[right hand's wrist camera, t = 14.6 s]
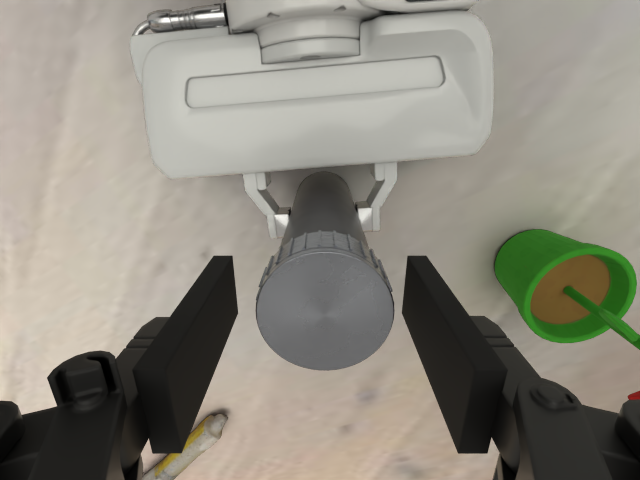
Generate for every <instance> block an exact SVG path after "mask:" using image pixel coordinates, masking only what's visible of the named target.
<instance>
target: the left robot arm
mask: <svg viewBox="0 0 640 480" xmlns="http://www.w3.org/2000/svg"><path fill="white" fill-rule="evenodd" d="M477 1H478V0H225V3H223V4H214V5H205V6H197V7H192V8H189V9H184V10H177V11H172V10H169V9H164V10H157V11H153V12H151V13H149V14H148V15H147V20H146V21H144V22H142V23H141V24H140V25H138V26H137V28H136V29H135V31H134V33H133V35H132V37H131V38H130V53H131V58H132V62H133V66H134V70H135V74H136V77H137V80H138V82H139V83H140V85H141V87H142V95H143V107H144V117H145V125H146V132H147V138H148V144H149V149H150V154H151V159H152V162H153V164H154V165H155V167H156V168H157V169H159V170H160V171H161V172H162V173H163V174H164V175H165V176H166V177H167V178H169V179H186V178H199V177H211V176H224V175H236V174H243V180H244V186H245V192H246V193H247V194H248V196H249V197H250V198H251V199H252V201H253V202H254V203H255V204H256V205H257V207H258V208H259V209H260V210H261V212H262V213H263V214H264V215H266V216H267V223H268V230H269V236H270V239H278V238H283V236H284V233H285V230H286V226H287V223H288V220H289V217H290V214H291V207H280V208H279V206H278V205H277V203H276V202H275V200H274V199H273V198H272V196H271V195H270V193H269V192H268V191H267V189H266V188H267V186H268V185H269V184H270V182H271V176H270V172H274V171H286V170H298V169H311V168H323V167H336V166H348V165H361V164H370V166H371V174H372V176H373V177H374V179H375V180H377V181H376V183H375V185H374V187H373V189H372V191H371V193H370V195H369V196H368V198H367V201H360V202H355V208H356V211H357V214H358V217H359V220H360V223H361V226H362V229H363V232H372V231H380V207H381V206H382V205H383V204H384V202H385V200H386V198H387V197H388V195H389V193H390V191H391V190H392V188H393V186H394V185H395V183H396V181H397V162H398V161H411V160H423V159H435V158H448V157H460V156H472V155H475V154H476V153H477V152H478V151H479V150H480V149H481V147H482V146H483V145H484V144H485V142H486V141H487V140H488V138H489V136H490V133H491V128H492V119H493V103H494V65H493V49H492V42H491V38H490V34H489V32H488V29H487V27H486V26H485V24H484V23H483V21H482V20H481V19H480V18H479V17H477V16H476V15H474V14H473V13H470V12H467V10H469V9H470V8H471V7H472V6H473V5H474V4H475V3H476V2H477ZM148 29H151V30H152V31H153V32H154V33H152V34H143V33H144V32H145V31H147V30H148ZM182 30H183V31H182Z"/></svg>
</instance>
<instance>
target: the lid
mask: <svg viewBox="0 0 640 480" xmlns="http://www.w3.org/2000/svg"><path fill="white" fill-rule="evenodd" d="M259 287H260V289H259V291H258V294H257V297H256V300H257V302H256V319H257V324H258V327H259V330H260V332H261V334H262V336H263V338H264V340H265V341H266V342H267V344H268V345H269V346H270V347H271V348H272V350H273V351H274V352H276V353H277V354H278V355H279V356H281V357H282V358H284V359H285V360H287V361H289V362H291V363H293V364H295V365H298V366H301V367H303V368H308V369H313V370H337V369H342V368H346V367H349V366H353V365H355V364H357V363H359V362H361V361H363V360H365V359H366V358H368V357H369V356H371V355H372V354H373V353H374V352H375V351H376V350H377V349H378V348H380V346H381V345H382V344H383V342H384V341H385V340H386V338H387V336H388V334H389V332H390V330H391V327H392V323H393V319H394V301H393V297H392V294H391V292H392V288H391V285H390V283H389V280H388V278H387V275H386V273H385V271H384V268H383V266H382V263H381V261H380V259H379V260H378V259H377V258H376V256H375V254H374V252H373V250H372V249H369V248H368V247H367V246H365V245H364V244H363V241H361V240H360V241H358V240H356V239H355V238H353V237H350V234H347V235H345V234H341V233H337V232H336V231H334V230H333V232H322V231H321V230H318V232H313V233H309V234H307V233H304V235H302V236H299V237H297V238H295V239H294V238H291V240H290V242H288V243H287V244H285V245H284V246H283V247H282V246H280V247H279V250H278V252H277V253H276V254H275V256H271V258H270V261H269V264H268V267H266V268H265V271H264V273H263V276H262V279H261V282H260V285H259Z"/></svg>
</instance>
